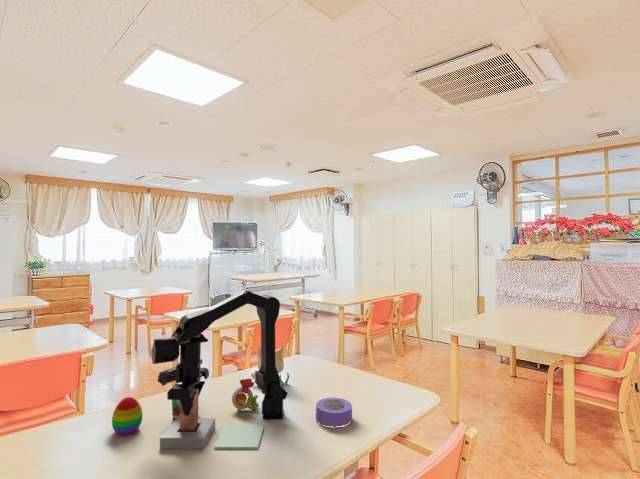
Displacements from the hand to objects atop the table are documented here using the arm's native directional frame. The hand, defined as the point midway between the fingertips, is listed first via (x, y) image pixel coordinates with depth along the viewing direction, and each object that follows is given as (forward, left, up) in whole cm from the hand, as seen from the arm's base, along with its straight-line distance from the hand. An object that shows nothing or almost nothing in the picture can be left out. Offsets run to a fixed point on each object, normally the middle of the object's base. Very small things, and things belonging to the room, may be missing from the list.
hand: (189, 412), depth 107 cm
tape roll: (-43, -12, -8) cm, 45 cm away
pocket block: (0, 0, -8) cm, 8 cm away
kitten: (-19, -44, -8) cm, 49 cm away
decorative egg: (+20, -4, -8) cm, 22 cm away
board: (-15, 0, -8) cm, 17 cm away
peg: (0, 0, -4) cm, 4 cm away
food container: (+5, -15, -8) cm, 18 cm away
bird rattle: (-13, -19, -8) cm, 24 cm away
